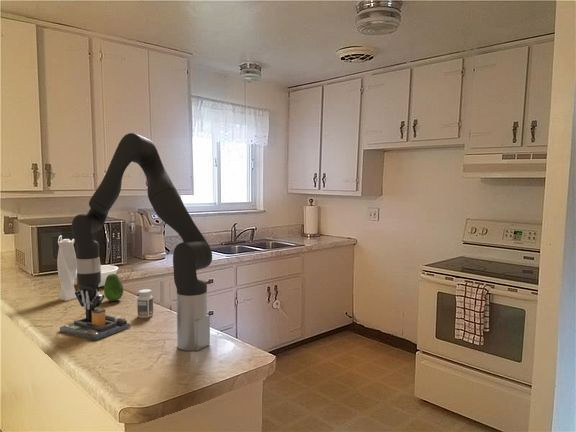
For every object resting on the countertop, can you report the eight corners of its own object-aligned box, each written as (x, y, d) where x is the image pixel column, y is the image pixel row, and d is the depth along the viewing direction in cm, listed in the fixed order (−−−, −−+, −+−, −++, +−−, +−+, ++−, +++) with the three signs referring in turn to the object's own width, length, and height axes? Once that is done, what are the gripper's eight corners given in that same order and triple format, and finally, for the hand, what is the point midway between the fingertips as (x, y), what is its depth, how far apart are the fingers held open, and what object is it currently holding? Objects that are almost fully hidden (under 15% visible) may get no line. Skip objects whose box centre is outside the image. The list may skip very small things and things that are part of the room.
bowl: (126, 281, 212) (126, 265, 211) (104, 291, 191) (103, 274, 190) (88, 279, 214) (88, 264, 213) (62, 289, 193) (62, 273, 192)
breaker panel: (129, 327, 143) (129, 320, 143) (95, 340, 130) (95, 332, 130) (95, 319, 151) (95, 312, 151) (59, 331, 138) (59, 323, 138)
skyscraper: (54, 299, 177) (51, 236, 175) (70, 295, 183) (68, 234, 181) (65, 301, 173) (63, 237, 171) (81, 297, 180) (79, 235, 178)
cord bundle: (127, 323, 143) (127, 317, 143) (121, 325, 141) (121, 319, 141) (96, 316, 150) (96, 310, 150) (90, 318, 148) (90, 312, 148)
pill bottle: (148, 312, 160) (147, 288, 159) (156, 315, 156) (155, 290, 155) (134, 316, 155) (134, 290, 155) (142, 319, 152) (142, 293, 151)
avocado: (101, 300, 175) (100, 273, 174) (119, 297, 181) (118, 271, 180) (108, 304, 169) (107, 276, 169) (126, 301, 175) (126, 274, 174)
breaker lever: (105, 325, 140) (105, 309, 140) (97, 328, 138) (97, 312, 137) (99, 323, 142) (99, 308, 141) (91, 326, 139) (91, 310, 139)
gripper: (111, 270, 141) (112, 318, 142) (85, 266, 147) (87, 313, 148) (92, 274, 134) (93, 325, 135) (66, 270, 140) (68, 319, 141)
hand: (90, 319), depth 142 cm, fingers closed
